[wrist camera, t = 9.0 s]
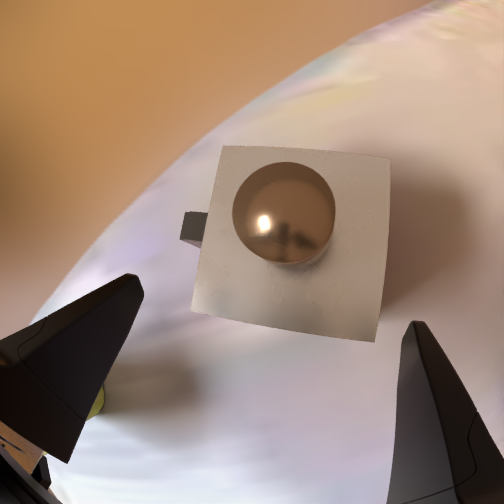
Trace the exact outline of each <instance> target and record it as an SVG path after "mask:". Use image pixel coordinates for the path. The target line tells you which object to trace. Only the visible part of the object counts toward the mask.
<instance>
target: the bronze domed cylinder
mask: <svg viewBox="0 0 504 504" xmlns="http://www.w3.org/2000/svg"><path fill="white" fill-rule="evenodd" d="M335 215H336V206H335V200H334V196H333V193H332V191H331V188H330V187H329V185H328V183H327V182H326V181H325V179H324V178H323V177H322V176H321V175H320V174H319V173H317V172H316V171H315V170H313V169H311V168H309V167H307V166H305V165H302V164H299V163H294V162H277V163H273V164H269V165H266V166H264V167H262V168H260V169H258V170H256V171H255V172H253V173H252V174H251V175H250V176H249V177H248V178H247V179H246V180H245V181H244V182H243V183H242V185H241V186H240V188H239V189H238V191H237V193H236V196H235V199H234V202H233V208H232V219H233V224H234V228H235V231H236V233H237V235H238V237H239V239H240V240H241V242H242V243H243V244H244V245H245V246H246V247H247V248H248V249H249V250H250V251H251V252H253V253H254V254H256V255H257V256H259V257H260V258H262V259H263V260H265V261H266V262H268V263H269V264H271V265H273V266H276V267H279V268H283V269H298V268H302V267H305V266H308V265H310V264H312V263H314V262H315V261H317V260H318V259H319V258H320V257H321V256H322V255H323V254H324V253H325V252H326V250H327V249H328V247H329V245H330V243H331V240H332V237H333V232H334V223H335Z"/></svg>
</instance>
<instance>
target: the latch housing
mask: <svg viewBox="0 0 504 504" xmlns="http://www.w3.org/2000/svg"><path fill="white" fill-rule="evenodd" d="M277 162H294V163H299V164H302V165H305V166H307V167H309V168H311V169H313V170H315V171H316V172H317V173H319V174H320V175H321V176H322V177H323V178H324V179H325V181H326V182H327V183H328V185H329V187H330V188H331V191H332V193H333V196H334V200H335V206H336V215H335V223H334V232H333V237H332V240H331V243H330V245H329V247H328V249H327V250H326V252H325V253H324V254H323V255H322V256H321V257H320V258H319V259H318V260H317V261H315V262H314V263H312V264H310V265H308V266H305V267H302V268H298V269H283V268H279V267H276V266H273V265H271V264H269V263H268V262H266V261H265V260H263V259H262V258H260V257H259V256H257V255H256V254H254V253H253V252H251V251H250V250H249V249H248V248H247V247H246V246H245V245H244V244H243V243H242V242H241V240H240V239H239V237H238V235H237V233H236V231H235V228H234V224H233V219H232V208H233V202H234V199H235V196H236V193H237V191H238V189H239V188H240V186H241V185H242V183H243V182H244V181H245V180H246V179H247V178H248V177H249V176H250V175H251V174H252V173H253V172H255V171H256V170H258V169H260V168H262V167H264V166H266V165H269V164H273V163H277ZM390 180H391V171H390V159H389V158H383V157H376V156H369V155H361V154H353V153H344V152H335V151H325V150H313V149H300V148H284V147H263V146H223V148H222V152H221V156H220V161H219V165H218V169H217V174H216V178H215V183H214V188H213V192H212V197H211V202H210V206H209V211H208V213H203V212H191V211H190V212H185V216H184V220H183V225H182V230H181V235H180V240H182V241H185V242H187V243H189V244H192V245H194V246H196V247H198V248H201V252H200V258H199V263H198V269H197V274H196V280H195V286H194V292H193V298H192V304H191V310H190V311H194V312H198V313H203V314H207V315H212V316H217V317H221V318H226V319H231V320H236V321H241V322H246V323H251V324H256V325H261V326H267V327H272V328H278V329H284V330H290V331H296V332H302V333H308V334H315V335H321V336H328V337H335V338H343V339H350V340H358V341H367V342H375V337H376V331H377V326H378V320H379V314H380V307H381V301H382V293H383V286H384V278H385V269H386V259H387V248H388V234H389V217H390Z"/></svg>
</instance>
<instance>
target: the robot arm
mask: <svg viewBox="0 0 504 504" xmlns="http://www.w3.org/2000/svg"><path fill="white" fill-rule="evenodd" d="M143 298H144V291H143V288H142V285H141V283H140V280H139V277H138V276H137V275H134V274H130V273H127V274H124V275H123V276H121V277H119V278H117V279H115V280H113V281H111V282H109V283H107V284H105V285H103V286H102V287H100V288H98V289H96V290H94V291H92V292H90V293H88V294H87V295H85V296H83V297H81V298H79V299H77V300H75V301H74V302H72V303H70V304H68V305H66V306H64V307H63V308H61V309H59V310H57V311H55V312H54V313H52V314H50V315H48V317H47V316H46V317H45V318H43V319H41V320H39V321H37V322H36V323H34V324H32V325H30V326H28V327H26V328H24V329H22V330H20V331H18V332H16V333H14V334H12V335H10V336H8V337H6V338H4V339H2V340H0V504H62V503H61V502H60V501H59V500H58V499H56V498H55V497H54V496H53V495H52V494H50V493H49V492H48V491H47V490H48V488H49V486H50V484H51V478H50V474H49V469H48V464H47V458H46V457H45V456H44V455H43V453H44V452H47V453H48V454H50V455H52V456H53V457H55V458H57V459H59V460H61V461H62V462H64V463H66V464H68V462H69V460H70V458H71V455H72V453H73V450H74V448H75V445H76V443H77V441H78V438H79V436H80V434H81V431H82V429H83V427H84V424H85V422H86V420H87V417H88V415H89V413H90V411H91V409H92V406H93V404H94V402H95V400H96V398H97V396H98V394H99V391H100V389H101V387H102V385H103V383H104V381H105V379H106V377H107V375H108V373H109V371H110V369H111V367H112V365H113V363H114V361H115V359H116V357H117V355H118V353H119V351H120V349H121V347H122V345H123V344H124V342H125V340H126V338H127V336H128V334H129V332H130V329H131V327H132V325H133V322H134V320H135V317H136V315H137V313H138V310H139V308H140V306H141V303H142V301H143ZM386 504H504V458H503V456H502V455H501V453H500V451H499V450H498V448H497V446H496V444H495V443H494V441H493V439H492V437H491V436H490V434H489V432H488V430H487V428H486V426H485V424H484V422H483V420H482V418H481V416H480V414H479V412H477V409H476V407H475V405H474V403H473V401H472V399H471V397H470V396H469V394H468V392H467V390H466V388H465V387H464V385H463V383H462V381H461V379H460V378H459V376H458V374H457V373H456V371H455V369H454V367H453V366H452V364H451V362H450V361H449V359H448V358H447V356H446V354H445V353H444V351H443V349H442V348H441V346H440V345H439V343H438V342H437V340H436V338H435V337H434V335H433V334H432V332H431V331H430V329H429V328H428V326H427V325H426V323H425V322H423V321H411V323H410V324H409V326H408V329H407V331H406V333H405V335H404V337H403V339H402V344H401V356H400V367H399V376H398V385H397V407H396V428H395V442H394V453H393V463H392V471H391V478H390V485H389V492H388V498H387V503H386Z"/></svg>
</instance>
